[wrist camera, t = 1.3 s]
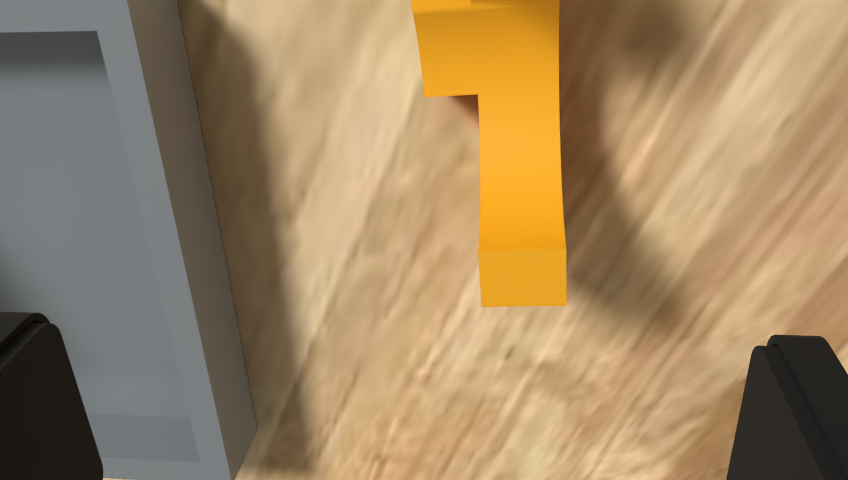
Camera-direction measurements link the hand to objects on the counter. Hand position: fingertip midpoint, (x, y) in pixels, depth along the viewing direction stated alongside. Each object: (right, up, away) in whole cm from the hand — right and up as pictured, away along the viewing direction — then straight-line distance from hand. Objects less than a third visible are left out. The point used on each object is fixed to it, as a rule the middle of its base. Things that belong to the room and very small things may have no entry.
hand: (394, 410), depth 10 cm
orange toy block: (+3, +9, +16) cm, 19 cm away
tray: (-14, +3, +21) cm, 26 cm away
